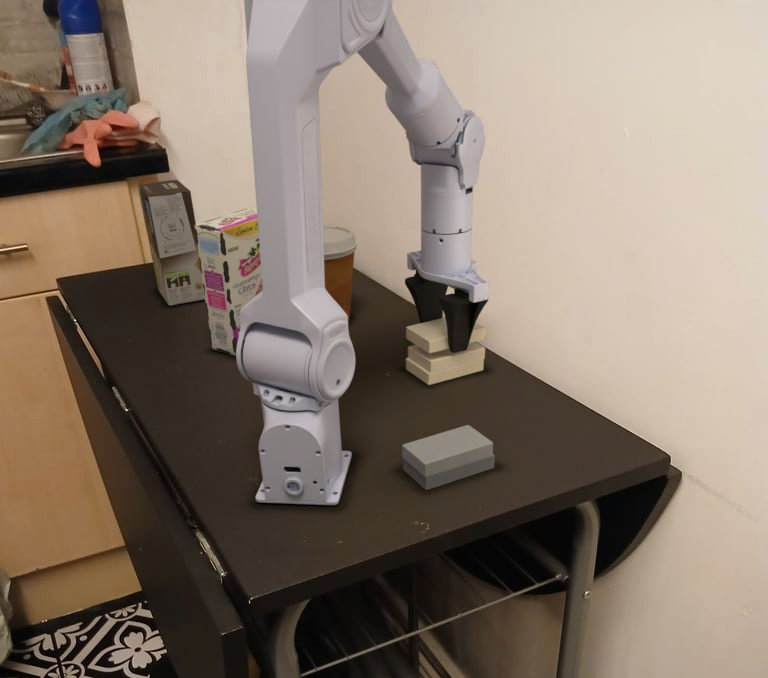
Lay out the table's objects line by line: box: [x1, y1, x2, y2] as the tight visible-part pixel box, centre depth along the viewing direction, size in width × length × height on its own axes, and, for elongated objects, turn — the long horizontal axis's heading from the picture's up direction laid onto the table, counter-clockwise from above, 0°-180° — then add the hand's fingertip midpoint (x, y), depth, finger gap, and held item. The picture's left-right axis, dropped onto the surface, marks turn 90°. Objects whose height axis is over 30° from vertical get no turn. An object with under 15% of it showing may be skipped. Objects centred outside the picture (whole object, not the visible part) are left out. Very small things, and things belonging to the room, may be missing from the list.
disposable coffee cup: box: [323, 225, 358, 322], centre depth 110 cm, size 10×10×12 cm
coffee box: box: [137, 179, 205, 307], centre depth 120 cm, size 9×6×16 cm
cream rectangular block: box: [405, 317, 487, 354], centre depth 96 cm, size 8×6×2 cm
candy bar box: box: [194, 206, 263, 357], centre depth 104 cm, size 11×5×16 cm, turn 146°
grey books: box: [401, 424, 496, 491], centre depth 78 cm, size 8×4×3 cm, turn 119°
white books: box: [404, 341, 486, 386], centre depth 98 cm, size 8×6×3 cm
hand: (444, 342), depth 96 cm, fingers closed on cream rectangular block, 5 cm apart
